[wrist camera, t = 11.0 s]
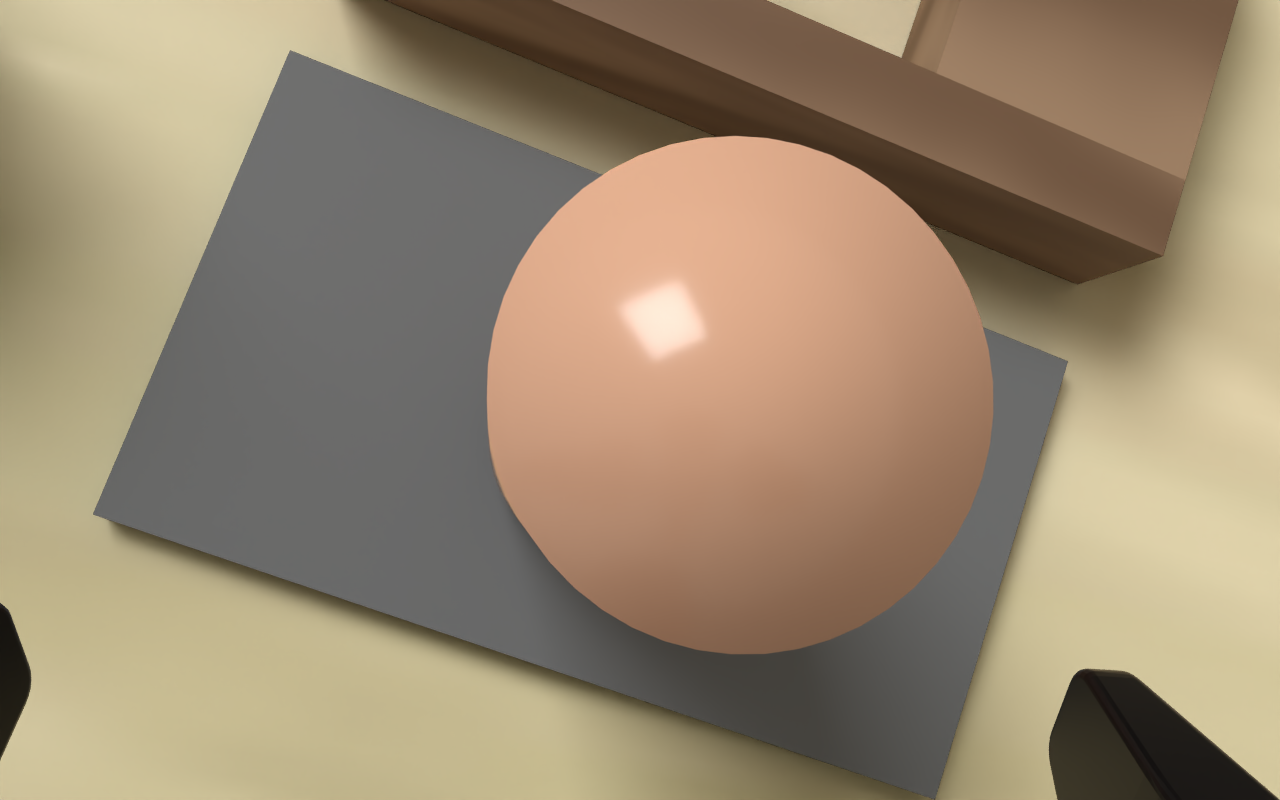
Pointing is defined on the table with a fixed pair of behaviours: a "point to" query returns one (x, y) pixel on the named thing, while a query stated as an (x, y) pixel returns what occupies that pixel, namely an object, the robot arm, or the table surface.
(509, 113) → the table surface
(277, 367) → the mat
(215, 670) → the table surface
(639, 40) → the well block
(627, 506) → the pink tall rounded piece
